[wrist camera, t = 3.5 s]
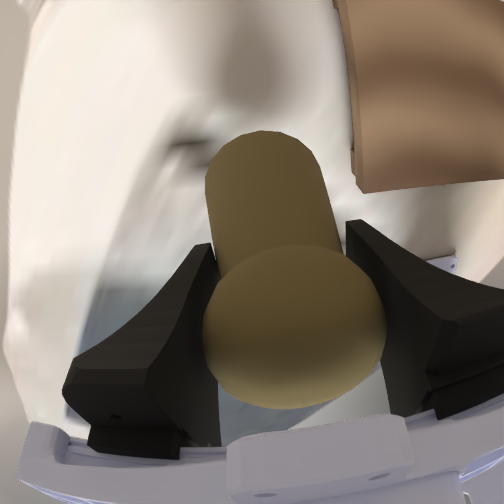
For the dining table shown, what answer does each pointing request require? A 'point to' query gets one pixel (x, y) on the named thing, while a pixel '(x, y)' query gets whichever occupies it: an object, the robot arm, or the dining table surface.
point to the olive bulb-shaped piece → (283, 281)
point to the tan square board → (425, 91)
